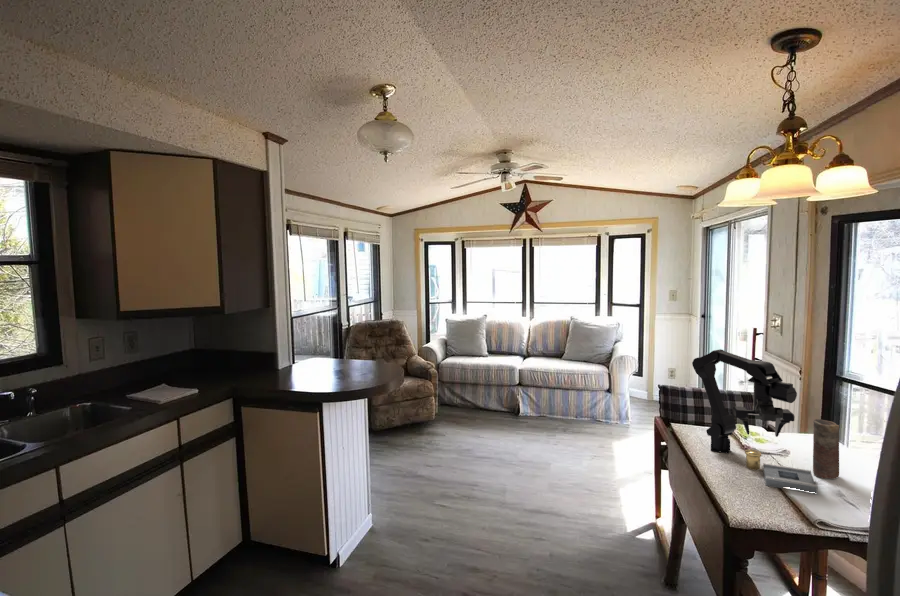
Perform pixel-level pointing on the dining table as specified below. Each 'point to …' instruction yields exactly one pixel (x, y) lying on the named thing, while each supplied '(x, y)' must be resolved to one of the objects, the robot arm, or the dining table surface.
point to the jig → (788, 477)
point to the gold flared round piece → (753, 459)
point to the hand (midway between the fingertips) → (762, 435)
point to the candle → (825, 449)
